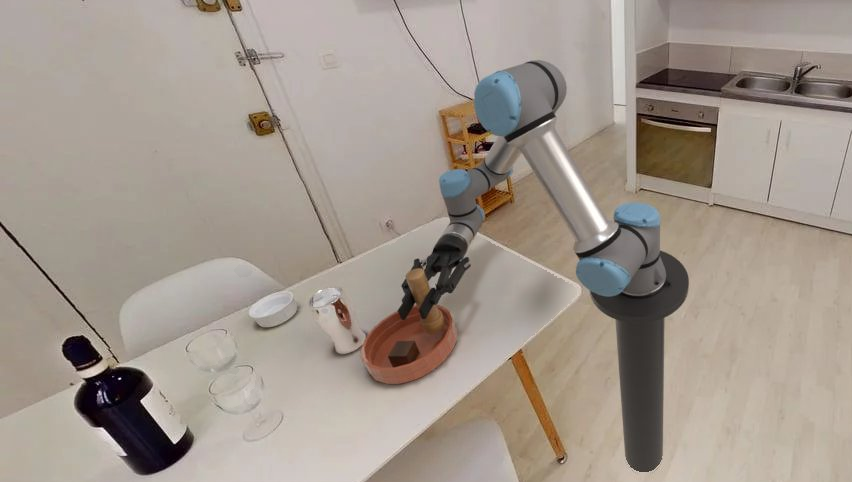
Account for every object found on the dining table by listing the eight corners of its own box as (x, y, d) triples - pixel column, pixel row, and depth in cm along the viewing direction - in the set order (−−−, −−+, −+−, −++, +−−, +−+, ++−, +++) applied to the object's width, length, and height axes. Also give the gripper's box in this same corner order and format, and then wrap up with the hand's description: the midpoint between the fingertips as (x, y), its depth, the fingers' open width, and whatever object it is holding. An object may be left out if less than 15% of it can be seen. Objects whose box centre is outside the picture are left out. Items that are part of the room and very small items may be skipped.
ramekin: (260, 335, 98) (251, 323, 96) (253, 317, 104) (245, 304, 101) (304, 314, 104) (296, 302, 102) (296, 297, 109) (288, 285, 107)
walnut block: (419, 352, 92) (414, 340, 91) (411, 368, 89) (405, 355, 87) (402, 352, 92) (396, 340, 91) (393, 368, 89) (387, 356, 87)
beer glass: (337, 337, 97) (310, 290, 90) (370, 327, 100) (347, 281, 92) (330, 360, 92) (302, 312, 84) (366, 349, 94) (341, 302, 87)
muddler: (448, 318, 97) (430, 266, 89) (440, 333, 93) (420, 281, 85) (429, 318, 97) (409, 266, 89) (420, 334, 93) (398, 281, 85)
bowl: (468, 317, 102) (464, 302, 100) (437, 384, 86) (431, 369, 84) (395, 318, 102) (389, 304, 100) (351, 386, 86) (342, 371, 84)
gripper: (488, 255, 108) (456, 326, 87) (425, 257, 107) (377, 328, 87) (482, 232, 104) (447, 300, 84) (416, 234, 104) (365, 303, 83)
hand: (411, 314), depth 85 cm, fingers closed on muddler, 4 cm apart
